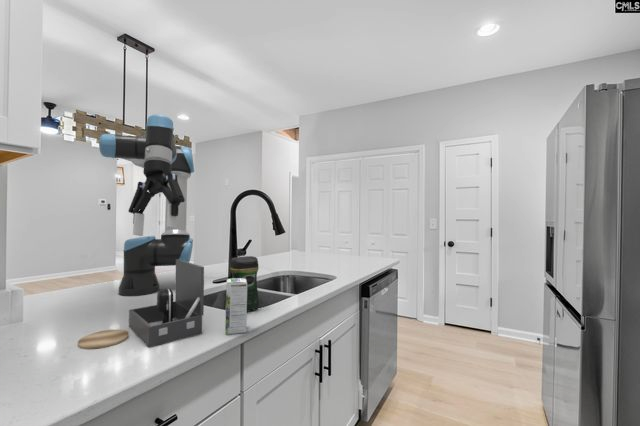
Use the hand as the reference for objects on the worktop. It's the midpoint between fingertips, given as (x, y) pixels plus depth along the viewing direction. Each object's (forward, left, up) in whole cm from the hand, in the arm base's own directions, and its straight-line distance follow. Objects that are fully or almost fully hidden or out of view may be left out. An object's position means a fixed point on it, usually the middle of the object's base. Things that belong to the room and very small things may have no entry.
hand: (154, 231), depth 91 cm
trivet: (-1, -12, -28) cm, 31 cm away
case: (+2, +2, -28) cm, 28 cm away
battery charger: (+2, +2, -29) cm, 29 cm away
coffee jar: (0, +29, -29) cm, 41 cm away
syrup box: (+16, +17, -29) cm, 37 cm away
